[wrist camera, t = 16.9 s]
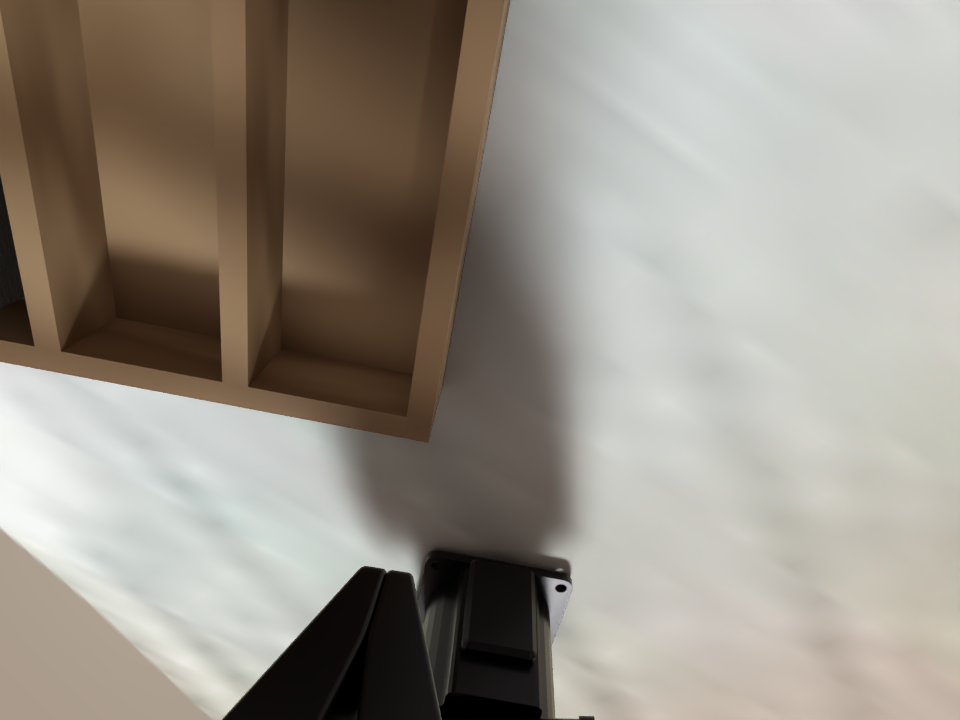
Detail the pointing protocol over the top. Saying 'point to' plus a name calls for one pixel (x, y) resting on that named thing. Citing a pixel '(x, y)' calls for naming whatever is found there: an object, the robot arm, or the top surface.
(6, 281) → the block
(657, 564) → the top surface
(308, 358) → the rack
